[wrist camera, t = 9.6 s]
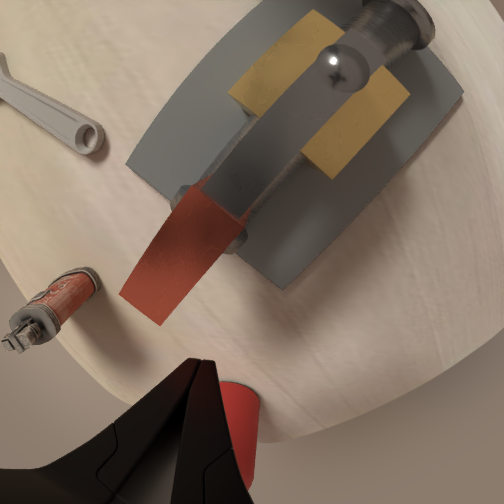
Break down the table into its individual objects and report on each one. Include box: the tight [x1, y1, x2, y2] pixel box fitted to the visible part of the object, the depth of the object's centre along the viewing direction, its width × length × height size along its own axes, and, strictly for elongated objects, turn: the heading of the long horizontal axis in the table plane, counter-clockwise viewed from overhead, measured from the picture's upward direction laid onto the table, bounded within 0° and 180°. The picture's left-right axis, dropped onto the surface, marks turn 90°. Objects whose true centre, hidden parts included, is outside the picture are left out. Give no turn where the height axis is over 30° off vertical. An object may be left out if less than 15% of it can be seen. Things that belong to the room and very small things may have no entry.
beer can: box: [219, 381, 260, 490], centre depth 21 cm, size 7×7×12 cm
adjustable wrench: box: [0, 52, 105, 154], centre depth 16 cm, size 25×6×2 cm, turn 52°
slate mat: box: [125, 0, 464, 290], centre depth 16 cm, size 22×15×1 cm
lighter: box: [1, 266, 101, 353], centre depth 19 cm, size 8×3×10 cm, turn 111°
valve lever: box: [119, 28, 387, 326], centre depth 10 cm, size 13×2×3 cm, turn 140°
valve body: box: [170, 0, 435, 254], centre depth 13 cm, size 20×6×7 cm, turn 140°
